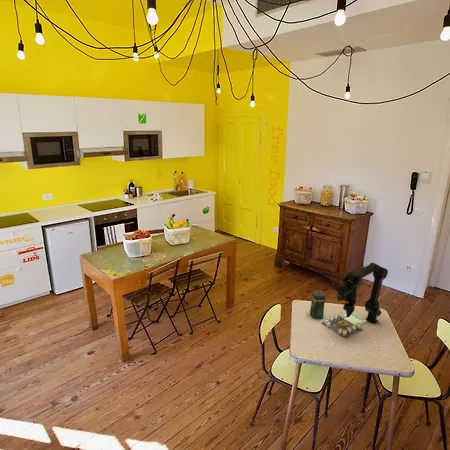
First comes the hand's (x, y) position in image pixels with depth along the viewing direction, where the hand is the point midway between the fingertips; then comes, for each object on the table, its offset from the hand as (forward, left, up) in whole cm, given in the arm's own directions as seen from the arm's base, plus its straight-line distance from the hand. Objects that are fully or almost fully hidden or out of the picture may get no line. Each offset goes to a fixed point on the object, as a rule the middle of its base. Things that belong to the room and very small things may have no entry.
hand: (348, 313), depth 215 cm
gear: (-1, -4, -12) cm, 12 cm away
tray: (-14, -4, -12) cm, 19 cm away
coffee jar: (+4, -22, -13) cm, 25 cm away
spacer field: (0, -4, -12) cm, 13 cm away
